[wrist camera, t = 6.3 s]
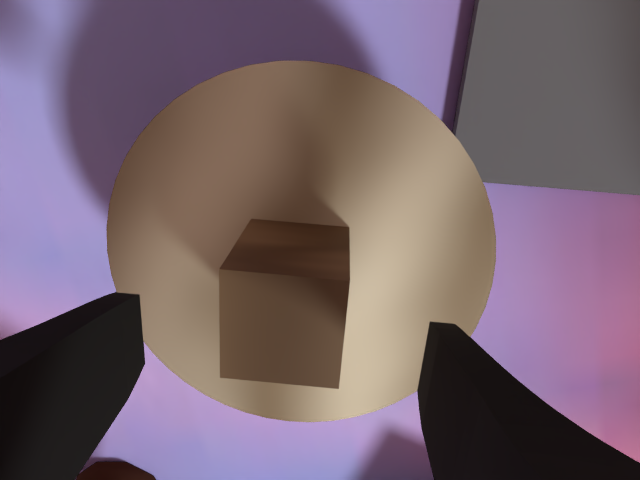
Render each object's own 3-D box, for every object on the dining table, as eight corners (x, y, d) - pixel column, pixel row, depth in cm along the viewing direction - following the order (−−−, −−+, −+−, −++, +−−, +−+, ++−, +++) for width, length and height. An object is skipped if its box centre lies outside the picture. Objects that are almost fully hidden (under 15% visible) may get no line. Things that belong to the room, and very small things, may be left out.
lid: (528, 77, 14) (616, 82, 9) (452, 422, 18) (487, 537, 14) (100, 45, 14) (-16, 34, 10) (132, 391, 19) (63, 493, 14)
